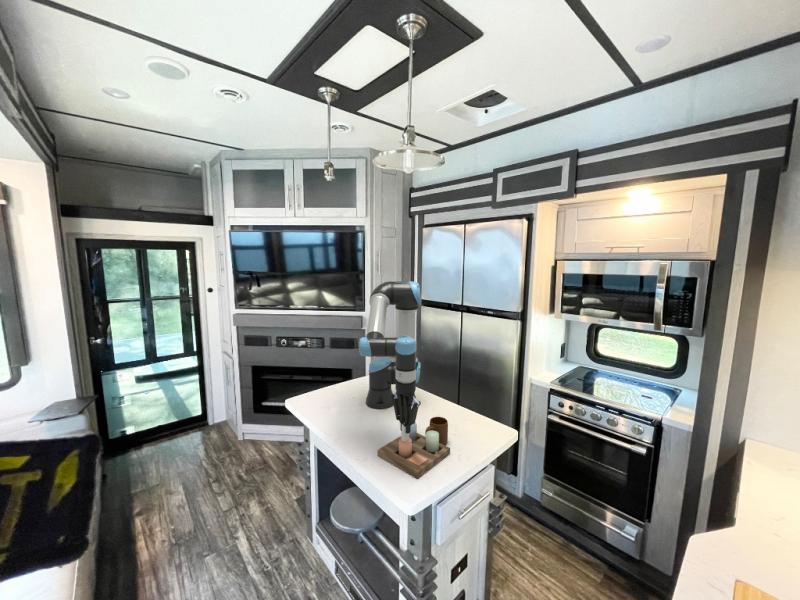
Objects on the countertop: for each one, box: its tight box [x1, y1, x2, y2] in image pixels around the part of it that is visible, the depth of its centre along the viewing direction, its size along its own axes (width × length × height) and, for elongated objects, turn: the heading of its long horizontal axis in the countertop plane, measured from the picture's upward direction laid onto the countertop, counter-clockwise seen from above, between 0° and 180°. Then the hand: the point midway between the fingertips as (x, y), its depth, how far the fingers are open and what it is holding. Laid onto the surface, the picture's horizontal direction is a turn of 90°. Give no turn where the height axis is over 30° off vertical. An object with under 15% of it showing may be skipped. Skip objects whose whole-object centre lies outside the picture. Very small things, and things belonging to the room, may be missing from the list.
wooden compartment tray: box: [376, 432, 451, 480], centre depth 127 cm, size 20×20×3 cm
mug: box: [424, 416, 449, 446], centre depth 134 cm, size 12×8×9 cm, turn 136°
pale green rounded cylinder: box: [425, 430, 439, 453], centre depth 127 cm, size 5×5×6 cm
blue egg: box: [409, 422, 418, 442], centre depth 134 cm, size 5×5×6 cm
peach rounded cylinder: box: [399, 438, 413, 459], centre depth 124 cm, size 5×5×6 cm
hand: (405, 439), depth 124 cm, fingers closed
